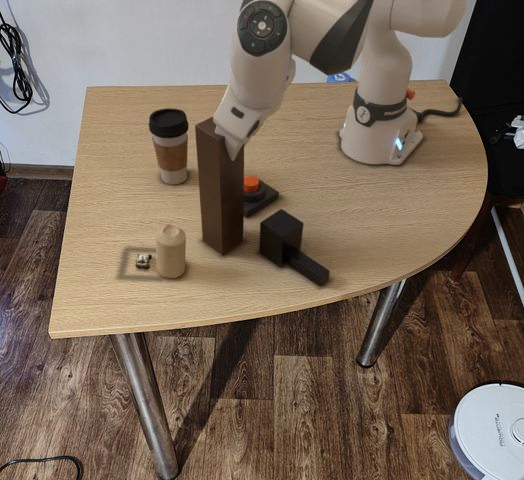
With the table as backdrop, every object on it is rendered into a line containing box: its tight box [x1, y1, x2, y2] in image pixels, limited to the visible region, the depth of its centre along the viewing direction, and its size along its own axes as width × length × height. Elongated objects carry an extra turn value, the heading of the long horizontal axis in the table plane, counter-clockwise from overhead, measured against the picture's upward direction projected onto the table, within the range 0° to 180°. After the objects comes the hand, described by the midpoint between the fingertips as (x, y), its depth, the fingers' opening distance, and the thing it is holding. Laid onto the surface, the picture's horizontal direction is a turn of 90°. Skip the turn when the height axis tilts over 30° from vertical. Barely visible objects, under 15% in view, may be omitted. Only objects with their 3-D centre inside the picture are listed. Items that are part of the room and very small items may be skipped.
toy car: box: [134, 252, 153, 269], centre depth 109 cm, size 3×4×2 cm, turn 178°
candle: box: [155, 223, 187, 279], centre depth 105 cm, size 6×6×10 cm
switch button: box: [244, 175, 259, 192], centre depth 120 cm, size 4×4×2 cm
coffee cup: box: [148, 108, 190, 185], centre depth 122 cm, size 8×8×15 cm
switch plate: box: [244, 178, 280, 218], centre depth 122 cm, size 10×8×4 cm
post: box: [194, 116, 245, 256], centre depth 105 cm, size 6×6×26 cm
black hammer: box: [258, 208, 331, 287], centre depth 108 cm, size 6×15×8 cm, turn 46°
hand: (254, 128), depth 104 cm, fingers closed
